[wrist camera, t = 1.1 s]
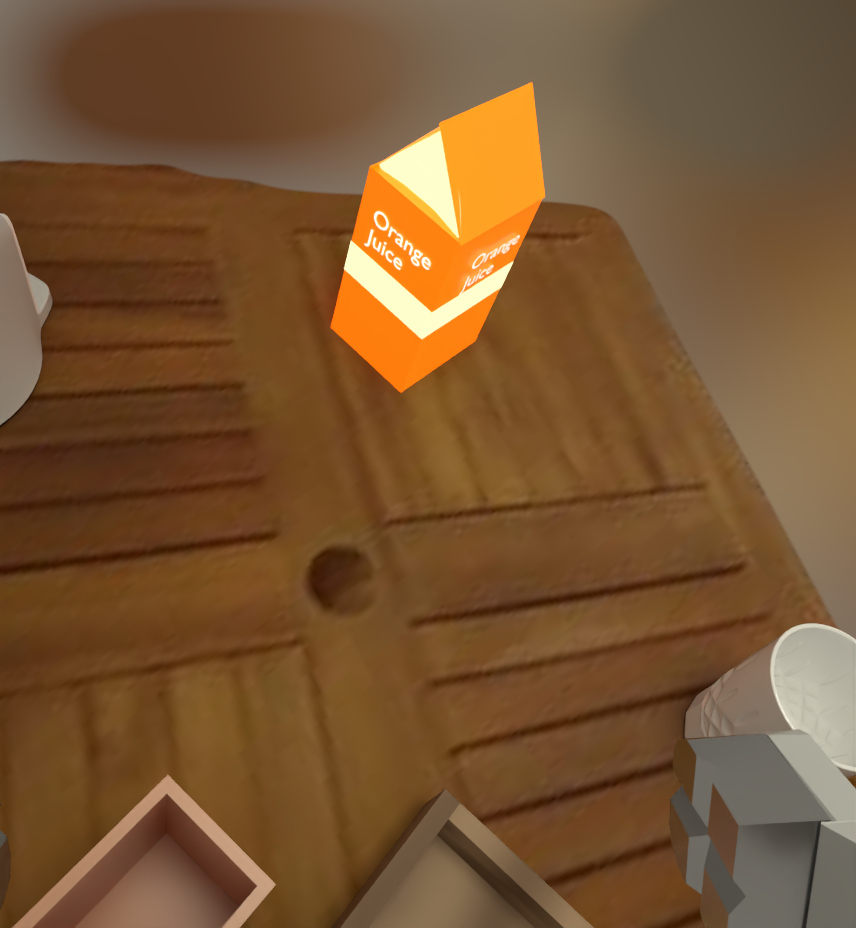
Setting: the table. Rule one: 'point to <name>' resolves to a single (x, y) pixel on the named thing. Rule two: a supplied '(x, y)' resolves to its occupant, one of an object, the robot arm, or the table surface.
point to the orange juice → (440, 237)
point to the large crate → (455, 880)
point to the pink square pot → (157, 873)
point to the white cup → (788, 693)
